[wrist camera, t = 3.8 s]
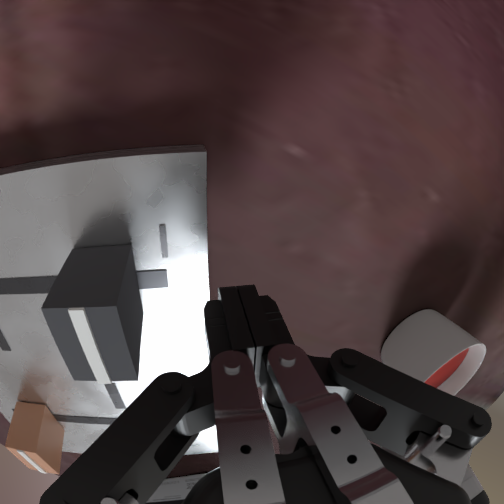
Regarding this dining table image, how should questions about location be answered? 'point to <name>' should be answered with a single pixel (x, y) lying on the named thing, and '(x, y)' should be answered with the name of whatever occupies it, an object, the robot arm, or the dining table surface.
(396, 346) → the candle
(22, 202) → the mixing board
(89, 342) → the fader black
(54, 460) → the fader terracotta
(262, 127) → the dining table surface
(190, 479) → the tea box
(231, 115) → the dining table surface
